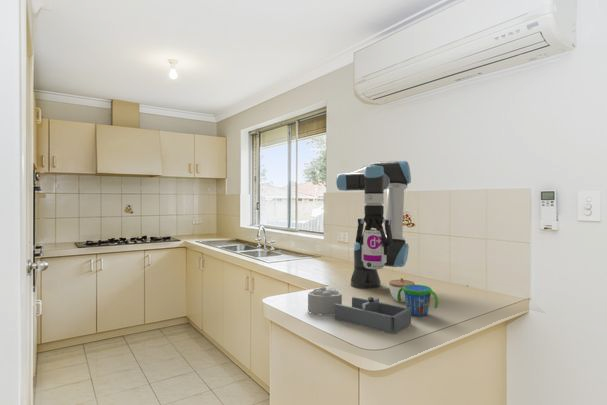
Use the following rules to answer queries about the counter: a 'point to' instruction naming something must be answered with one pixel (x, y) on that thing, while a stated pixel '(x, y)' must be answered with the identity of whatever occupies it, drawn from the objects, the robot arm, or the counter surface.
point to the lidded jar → (397, 285)
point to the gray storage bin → (375, 316)
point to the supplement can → (372, 249)
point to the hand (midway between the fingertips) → (373, 261)
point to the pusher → (371, 305)
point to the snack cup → (417, 298)
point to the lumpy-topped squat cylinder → (323, 300)
